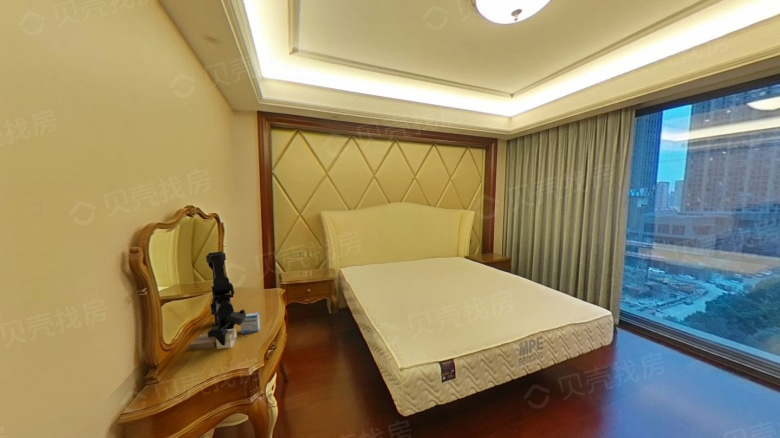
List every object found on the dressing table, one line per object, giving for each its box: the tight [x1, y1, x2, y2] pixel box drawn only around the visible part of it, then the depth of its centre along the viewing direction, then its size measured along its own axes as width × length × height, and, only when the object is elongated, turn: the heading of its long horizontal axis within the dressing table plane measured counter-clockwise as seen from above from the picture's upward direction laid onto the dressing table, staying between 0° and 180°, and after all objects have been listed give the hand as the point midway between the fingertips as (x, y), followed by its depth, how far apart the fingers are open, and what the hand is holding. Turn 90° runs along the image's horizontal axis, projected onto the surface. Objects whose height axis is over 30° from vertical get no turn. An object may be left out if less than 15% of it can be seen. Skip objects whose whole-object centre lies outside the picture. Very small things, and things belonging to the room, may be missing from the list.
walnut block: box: [189, 332, 217, 351], centre depth 130 cm, size 10×10×3 cm
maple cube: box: [216, 328, 238, 350], centre depth 127 cm, size 6×6×6 cm
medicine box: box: [240, 311, 261, 335], centre depth 140 cm, size 8×4×9 cm, turn 105°
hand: (226, 341), depth 128 cm, fingers closed on maple cube, 6 cm apart
